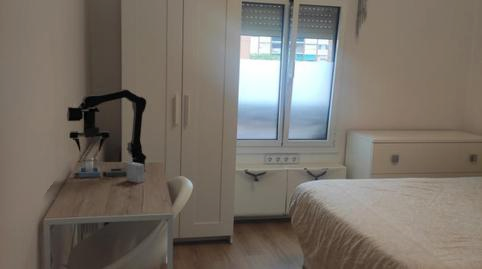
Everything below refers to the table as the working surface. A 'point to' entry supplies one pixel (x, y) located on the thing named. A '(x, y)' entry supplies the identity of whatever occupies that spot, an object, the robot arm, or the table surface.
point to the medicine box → (135, 172)
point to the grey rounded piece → (89, 164)
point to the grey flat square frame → (116, 171)
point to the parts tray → (89, 174)
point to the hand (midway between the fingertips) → (89, 151)
